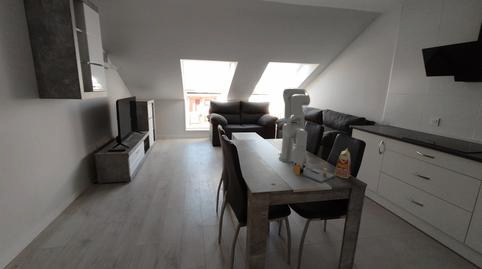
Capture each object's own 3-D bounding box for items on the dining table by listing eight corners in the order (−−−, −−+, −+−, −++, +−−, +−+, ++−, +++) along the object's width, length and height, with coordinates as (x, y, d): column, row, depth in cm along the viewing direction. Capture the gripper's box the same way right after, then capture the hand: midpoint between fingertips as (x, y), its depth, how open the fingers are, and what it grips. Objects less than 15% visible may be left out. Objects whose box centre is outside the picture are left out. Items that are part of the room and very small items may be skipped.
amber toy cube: (293, 172, 166) (294, 165, 165) (297, 171, 170) (298, 163, 168) (299, 175, 163) (299, 167, 161) (303, 173, 166) (303, 165, 165)
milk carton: (337, 171, 172) (341, 146, 168) (350, 175, 166) (354, 149, 162) (333, 175, 165) (337, 149, 161) (347, 179, 160) (351, 151, 155)
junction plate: (300, 174, 163) (301, 166, 162) (315, 169, 175) (315, 161, 173) (320, 182, 152) (322, 174, 150) (334, 176, 163) (335, 168, 161)
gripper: (287, 145, 166) (285, 169, 170) (307, 151, 153) (305, 176, 157) (293, 144, 171) (291, 167, 174) (313, 149, 158) (311, 174, 162)
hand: (298, 171), depth 166 cm, fingers closed on amber toy cube, 5 cm apart
